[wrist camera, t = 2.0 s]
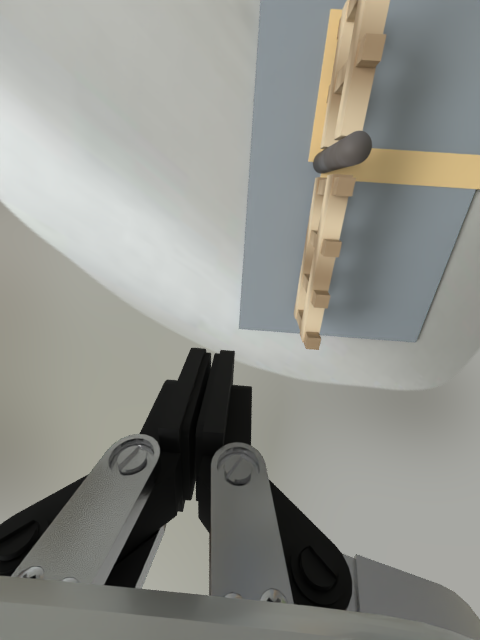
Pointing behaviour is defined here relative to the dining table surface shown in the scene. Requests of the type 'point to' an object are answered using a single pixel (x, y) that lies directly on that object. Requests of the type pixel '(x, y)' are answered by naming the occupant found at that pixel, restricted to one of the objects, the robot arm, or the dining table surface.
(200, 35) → the dining table surface
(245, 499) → the robot arm
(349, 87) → the fence fixed
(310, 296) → the fence gate
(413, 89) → the card
